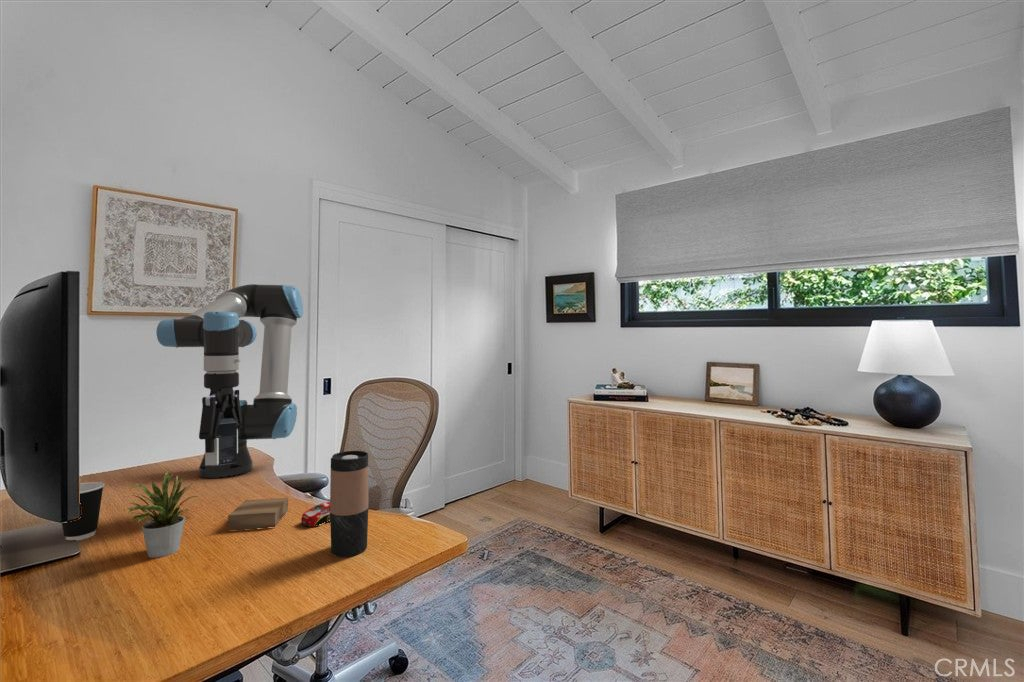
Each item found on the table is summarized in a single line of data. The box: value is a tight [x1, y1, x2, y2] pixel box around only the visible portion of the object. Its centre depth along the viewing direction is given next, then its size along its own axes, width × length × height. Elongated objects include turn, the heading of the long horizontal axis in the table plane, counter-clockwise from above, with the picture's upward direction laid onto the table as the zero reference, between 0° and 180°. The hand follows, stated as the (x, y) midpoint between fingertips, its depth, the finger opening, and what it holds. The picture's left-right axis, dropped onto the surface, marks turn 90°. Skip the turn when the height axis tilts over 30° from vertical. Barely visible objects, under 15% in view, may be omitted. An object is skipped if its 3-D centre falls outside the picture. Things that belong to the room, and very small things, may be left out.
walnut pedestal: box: [227, 497, 289, 532], centre depth 108 cm, size 10×10×4 cm
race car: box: [300, 501, 330, 527], centre depth 111 cm, size 13×5×4 cm, turn 143°
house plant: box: [119, 471, 199, 559], centre depth 93 cm, size 14×14×16 cm
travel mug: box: [329, 450, 369, 558], centre depth 94 cm, size 8×8×20 cm
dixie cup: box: [61, 481, 106, 541], centre depth 100 cm, size 8×8×11 cm
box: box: [211, 418, 237, 466], centre depth 114 cm, size 8×6×11 cm
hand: (222, 458), depth 114 cm, fingers closed on box, 9 cm apart
